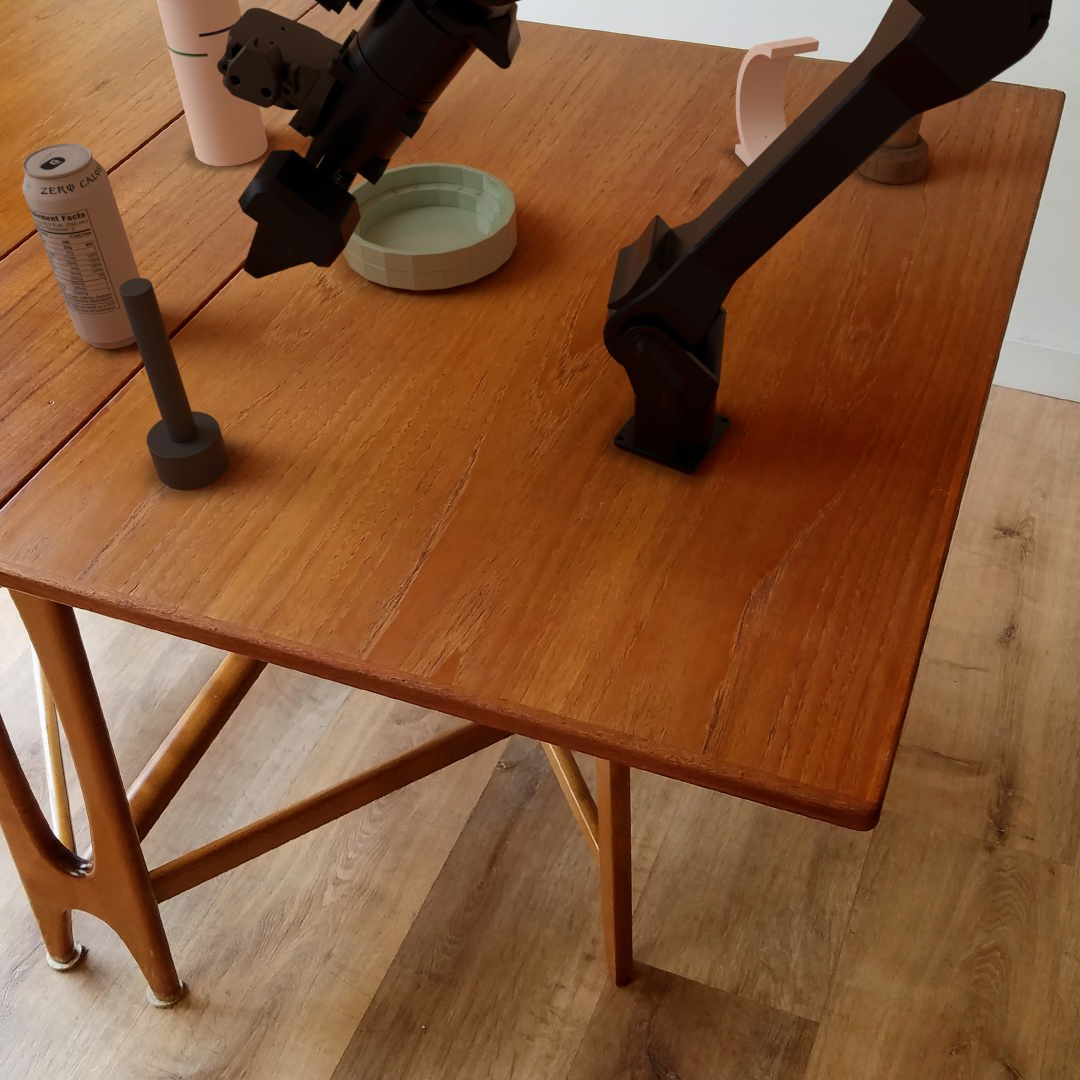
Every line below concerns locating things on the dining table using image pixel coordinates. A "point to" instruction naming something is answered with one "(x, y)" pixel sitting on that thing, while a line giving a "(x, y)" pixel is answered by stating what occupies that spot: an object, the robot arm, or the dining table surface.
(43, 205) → the energy drink can
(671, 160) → the dining table surface
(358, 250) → the bowl
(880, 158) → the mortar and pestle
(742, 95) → the headphone stand
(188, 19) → the cylindrical container
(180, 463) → the grey rod with base
